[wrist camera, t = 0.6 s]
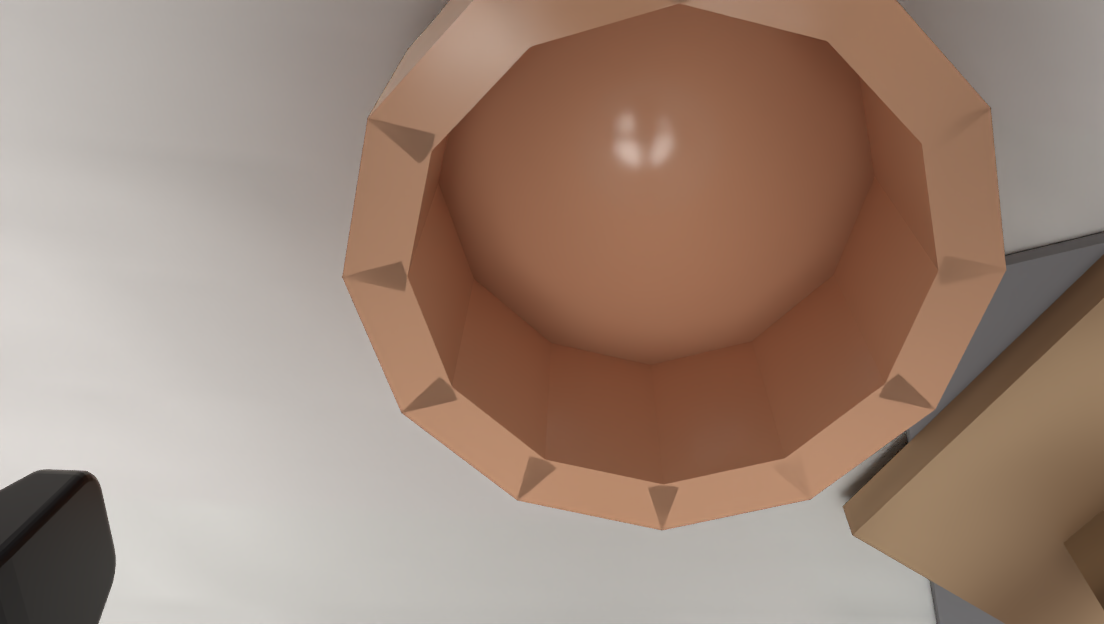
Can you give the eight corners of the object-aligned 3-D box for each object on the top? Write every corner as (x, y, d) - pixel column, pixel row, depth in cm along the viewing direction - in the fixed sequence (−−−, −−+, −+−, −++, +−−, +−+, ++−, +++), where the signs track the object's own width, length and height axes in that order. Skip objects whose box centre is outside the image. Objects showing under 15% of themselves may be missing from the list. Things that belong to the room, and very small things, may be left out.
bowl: (936, 314, 22) (1024, 455, 18) (491, 417, 24) (469, 570, 19) (869, -185, 17) (964, -163, 13) (323, -15, 19) (245, 55, 15)
